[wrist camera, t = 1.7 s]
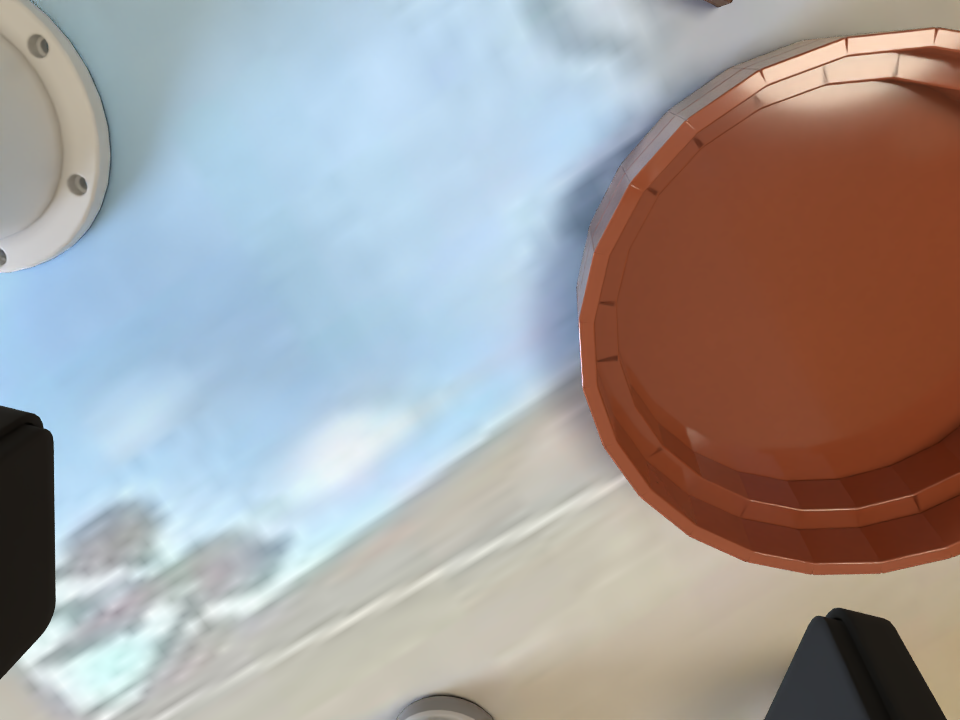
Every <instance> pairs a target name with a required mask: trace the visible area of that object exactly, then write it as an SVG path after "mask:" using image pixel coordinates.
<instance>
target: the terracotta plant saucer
mask: <svg viewBox="0 0 960 720" xmlns="http://www.w3.org/2000/svg"><path fill="white" fill-rule="evenodd" d="M576 288H577V308H578V327H579V344H580V361H581V378H582V387H583V392H584V394H585V397H586V400H587V403H588V406H589V408H590V411H591V414H592V417H593V419H594V422H595V425H596V428H597V431H598V433H599V436H600V439H601V442H602V445H603V446H604V448H605V450H606V451H607V453H608V454H609V455H610V457H611V458H612V460H613V461H614V462H615V464H616V465H617V466H618V468H619V469H620V471H621V472H622V473H623V475H624V476H625V477H626V479H627V480H628V482H629V483H630V484H631V486H632V487H633V488H634V490H635V491H636V493H637V494H638V495H639V496H640V497H641V498H642V499H643V500H644V501H645V502H647V503H648V504H649V505H650V506H652V507H653V508H654V509H655V510H657V511H658V512H659V513H660V514H662V515H663V516H664V517H666V518H667V519H668V520H669V521H671V522H672V523H673V524H674V525H676V526H677V527H678V528H679V529H681V530H682V531H683V532H684V533H686V534H687V535H689V537H692V538H694V539H696V540H698V541H700V542H703V543H705V544H707V545H709V546H712V547H714V548H716V549H718V550H720V551H723V552H725V553H727V554H729V555H732V556H734V557H736V558H738V559H740V560H743V561H745V562H749V563H754V564H759V565H764V566H769V567H774V568H779V569H784V570H790V571H795V572H800V573H805V574H810V575H811V574H813V575H835V574H880V573H887V572H891V571H896V570H900V569H904V568H909V567H913V566H918V565H922V564H927V563H931V562H936V561H940V560H945V559H949V558H951V557H955V556H957V555H960V31H958V30H952V29H947V28H941V27H936V28H935V27H930V28H918V29H907V30H896V31H885V32H874V33H864V34H855V35H846V36H837V37H827V38H818V39H809V40H804V41H798V42H796V43H793V44H791V45H788V46H785V47H783V48H780V49H777V50H775V51H772V52H770V53H767V54H764V55H762V56H759V57H756V58H754V59H751V60H748V61H746V62H743V63H741V64H738V65H735V66H733V67H731V68H729V69H727V70H726V71H724V72H723V73H721V74H720V75H718V76H717V77H715V78H714V79H713V80H711V81H710V82H708V83H707V84H705V85H704V86H702V87H701V88H700V89H698V90H697V91H695V92H694V93H692V94H691V95H689V96H688V97H687V98H685V99H684V100H682V101H681V102H679V103H678V104H677V105H675V106H674V107H672V108H671V109H669V112H666V113H665V114H664V116H663V117H662V118H661V119H660V120H659V121H658V122H657V124H656V125H655V126H654V127H653V128H652V129H651V130H650V132H649V133H648V134H647V135H646V136H645V137H644V138H643V139H642V141H641V142H640V143H639V144H638V145H637V146H636V147H635V149H634V150H633V151H632V152H631V153H630V154H629V155H628V157H627V158H626V159H625V160H624V161H623V162H622V164H621V165H620V166H619V168H618V170H617V172H616V174H615V176H614V178H613V180H612V182H611V184H610V186H609V188H608V190H607V192H606V194H605V195H604V197H603V199H602V201H601V203H600V205H599V207H598V209H597V211H596V213H595V215H594V217H593V219H592V221H591V223H590V226H589V230H588V235H587V239H586V244H585V249H584V253H583V258H582V262H581V267H580V272H579V276H578V281H577V287H576Z"/></svg>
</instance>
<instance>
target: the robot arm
mask: <svg viewBox="0 0 960 720" xmlns="http://www.w3.org/2000/svg"><path fill="white" fill-rule="evenodd" d="M47 43H48V48H47ZM48 49H49V50H48ZM110 158H111V155H110V144H109V132H108V125H107V122H106V118H105V114H104V110H103V106H102V103H101V99H100V96H99V94H98V92H97V89H96V87H95V85H94V82H93V80H92V78H91V76H90V73H89V71H88V69H87V67H86V66H85V64H84V62H83V61H82V59H81V58H80V56H79V55H78V53H77V51H76V50H75V48H74V47H73V45H72V44H71V42H70V41H69V39H68V38H67V37H66V36H65V35H64V34H63V33H62V31H61V30H60V29H59V28H58V27H57V26H56V25H55V23H54V22H53V21H52V20H51V19H50V18H49V17H48V16H47V15H46V14H45V13H44V12H43V11H41V10H40V9H39V8H38V7H37V6H35V5H34V4H33V3H32V2H31V1H29V0H0V273H8V272H14V271H18V270H22V269H26V268H31V267H34V266H36V265H39V264H41V263H44V262H46V261H49V260H51V259H53V258H55V257H57V256H58V255H60V254H61V253H63V252H64V251H66V250H67V249H69V248H70V247H72V246H73V245H74V244H75V243H76V242H77V241H78V240H79V239H80V238H81V237H82V236H83V235H84V234H85V232H86V231H87V230H88V229H89V228H90V226H91V224H92V222H93V221H94V219H95V217H96V215H97V213H98V212H99V210H100V208H101V205H102V202H103V199H104V195H105V192H106V189H107V185H108V179H109V168H110ZM85 181H86V183H87V185H86V183H85ZM55 602H56V595H55V516H54V442H53V436H52V434H51V432H50V431H48V430H47V429H43V423H42V421H41V419H40V417H38V416H37V415H35V414H33V413H29V412H24V411H20V410H16V409H12V408H8V407H4V406H0V679H1V678H2V677H3V676H4V675H5V674H6V673H7V672H8V671H9V670H10V668H11V667H12V666H13V665H14V664H15V663H16V662H17V661H18V660H19V659H20V658H21V657H22V656H23V654H24V653H25V652H26V651H27V650H28V649H29V648H30V647H31V646H32V645H33V644H34V643H35V642H36V640H37V639H38V638H39V637H40V636H41V635H42V634H43V632H44V631H45V630H46V628H47V626H48V625H49V623H50V621H51V618H52V616H53V613H54V609H55ZM764 720H947V719H946V717H945V716H944V714H943V712H942V710H941V708H940V707H939V705H938V703H937V701H936V700H935V698H934V696H933V694H932V693H931V691H930V689H929V687H928V686H927V684H926V682H925V680H924V678H923V677H922V675H921V673H920V671H919V670H918V668H917V666H916V664H915V663H914V661H913V659H912V657H911V655H910V654H909V652H908V650H907V648H906V647H905V645H904V643H903V641H902V640H901V638H900V636H899V634H898V633H897V631H896V629H895V627H894V626H893V625H892V624H891V622H890V621H888V620H886V619H884V618H880V617H876V616H871V615H867V614H863V613H859V612H855V611H851V610H847V609H842V608H834V609H832V610H831V611H830V612H829V613H828V614H827V615H826V617H822V616H816V617H815V618H813V619H812V620H811V622H810V624H809V625H808V627H807V630H806V632H805V634H804V636H803V638H802V640H801V642H800V644H799V647H798V649H797V651H796V653H795V655H794V657H793V659H792V662H791V664H790V666H789V668H788V670H787V672H786V674H785V676H784V679H783V681H782V683H781V685H780V687H779V689H778V691H777V694H776V696H775V698H774V700H773V702H772V704H771V706H770V709H769V711H768V713H767V715H766V717H765V719H764Z"/></svg>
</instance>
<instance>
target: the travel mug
mask: <svg viewBox="0 0 960 720" xmlns="http://www.w3.org/2000/svg"><path fill="white" fill-rule="evenodd" d="M397 720H493V719H492V718H491V716H490V715H489V714H488V713H486V712H485V711H484V710H483V709H482V708H480V707H478V706H477V705H475V704H473V703H471V702H468V701H466V700H463V699H459V698H455V697H448V696H434V697H428V698H424V699H421V700H419V701H416V702H414V703H412V704H411V705H409V706H408V707H407V708H405V709H404V710H403V711H402V712H401V713H400V715H399V716H398V718H397Z"/></svg>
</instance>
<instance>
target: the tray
mask: <svg viewBox="0 0 960 720" xmlns="http://www.w3.org/2000/svg"><path fill="white" fill-rule="evenodd" d="M705 1H707V2H709V3H711V4H713V5H715V6H717V7H721V6H723V5H726V4H729V3H731V2H732V1H733V0H705Z"/></svg>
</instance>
